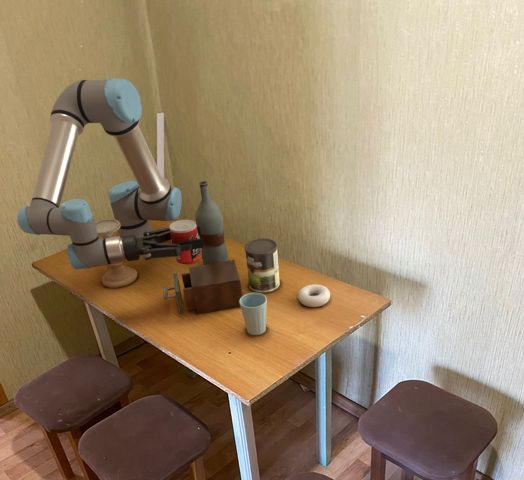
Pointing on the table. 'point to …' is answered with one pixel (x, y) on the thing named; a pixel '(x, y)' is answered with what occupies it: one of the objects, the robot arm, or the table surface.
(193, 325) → the table surface
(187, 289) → the drawer
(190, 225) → the canned food
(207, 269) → the cabinet
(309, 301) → the donut
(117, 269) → the candle holder
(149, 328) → the table surface
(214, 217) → the bottle
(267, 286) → the coffee can
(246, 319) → the cup
